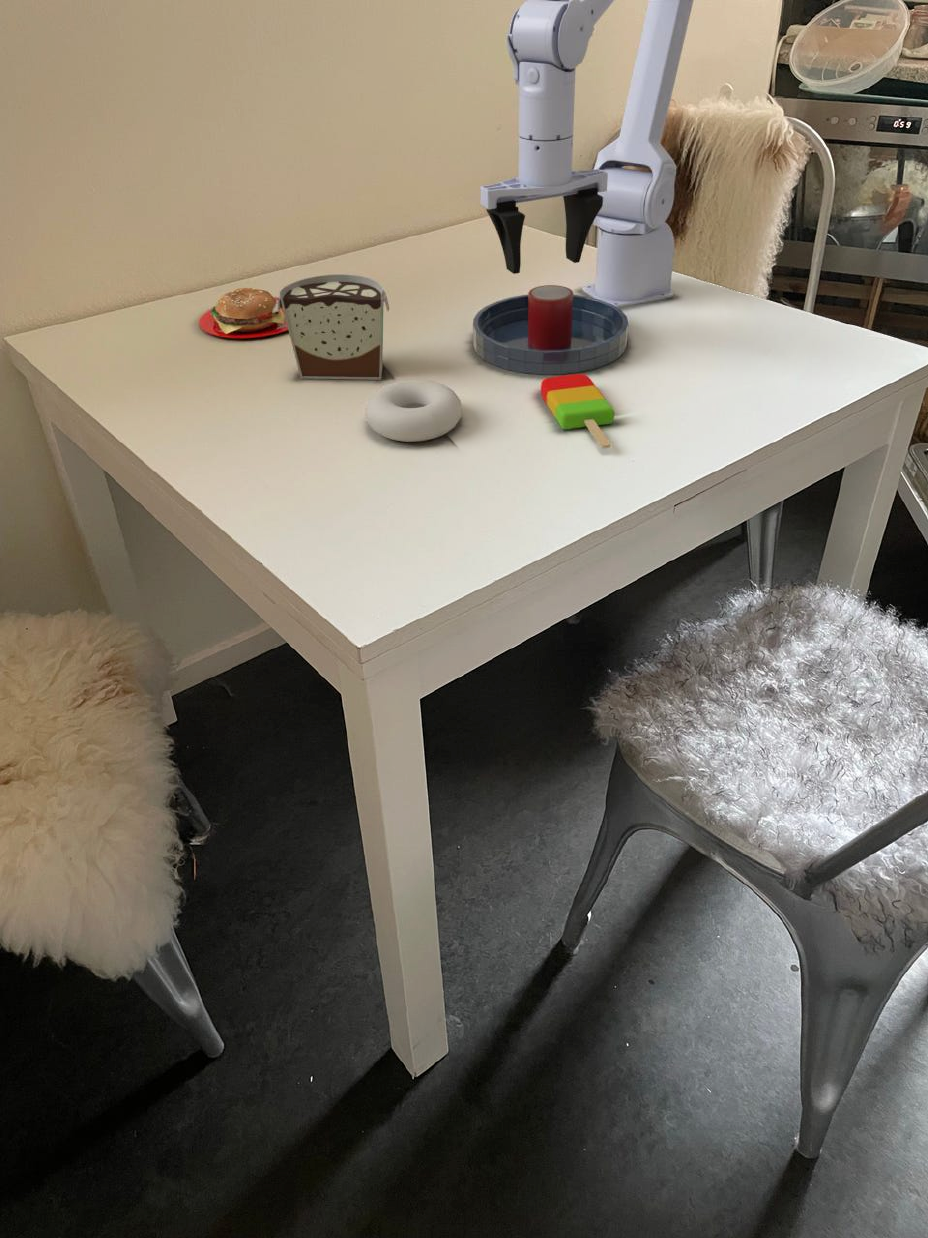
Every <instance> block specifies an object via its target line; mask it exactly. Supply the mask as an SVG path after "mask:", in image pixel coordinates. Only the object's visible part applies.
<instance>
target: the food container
mask: <svg viewBox="0 0 928 1238" xmlns="http://www.w3.org/2000/svg"><path fill="white" fill-rule="evenodd" d="M277 298H278V310H280V309H281V308H282V307H283V310H284V314H285V318H286V322H287V326H288V330H287V331H288V334H289V338H290V342H291V346H292V350H293V355H294V358H295V362H296V366H297V369H298V373H299V378H300V379H301V380H303V379H304V380H358V381H359V380H362V381H363V380H364V381H365V380H366V381H367V380H368V381H369V380H370V381H372V380H373V381H382V379H383V351H384V350H383V349H384V347H383V345H384V344H383V342H384V305H385V308H386V311H387V312H389V311H390V304H389V300H388V298H387V294H386V291H385V290H384V288H383V285H382V284H381V283H380V282H379V281H377V280H375V279H373V278H370V277H367V276H363V275H358V274H348V273H347V274H346V273H345V274H344V273H343V274H342V273H338V274H337V273H336V274H335V273H334V274H333V273H332V274H323V275H322V274H321V275H316V276H310V277H306V278H302V279H299V280H296V281H293V282H291V283H288V284H287V285H286V286H284V287H282V288H281V289H280V290H279V296H278V297H277Z"/></svg>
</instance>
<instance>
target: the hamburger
mask: <svg viewBox="0 0 928 1238" xmlns="http://www.w3.org/2000/svg"><path fill="white" fill-rule="evenodd" d="M198 320H199V321H198V325H199V327H200V328H201V330H203V331H204V332H205V333H207V334H210V335H212V336H216V337H220V338H229V339H251V338H261V337H267V336H271V335H277V334H280V333H283V332H287V331H289V330H288V326H287V322H286V318H285V314H284V310H283V307H282V308H281V309H280V310H278V297H277V296H276V297H275V296H273V295H272V294H271V293H270V292H269V291H268V290H266V289H258V288H253V287H246V286H245V287H240V288H234V289H231V291H228V292H226V293H224V294H223V295H221V296H220V297H219V298H218V299H217V303H216V304H215V306H213V307H212V308H210V309H209V310H207V311H206V312H205V313H203V315H202V314H201V316H200V318H199V319H198Z"/></svg>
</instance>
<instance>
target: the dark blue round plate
mask: <svg viewBox="0 0 928 1238" xmlns="http://www.w3.org/2000/svg"><path fill="white" fill-rule="evenodd" d="M628 331H629V320H628V316H627V315H626V314H625V313H624V311H623V310H622V309H621V308H620V307H619V308H617V307H616V306H614V305H612V304H610V303H607V302H605V301H602V300H599V299H595V298H593V297H592V296H587V295H581V294H575V293H573V314H572V339H571V345H570V346H569V347H567V348H565V349H562V350H538V349H534V348H532V347H530V346H529V345H528V294H522V295H516V296H511V297H507V298H503V299H501V300H497V301H495V302H492V303H490V304H488V305H486V306H484V307H483V308H482V309H480V310H479V311H477V313H476V314H475V316H474V317H473V319H472V341H473V344H472V345H473V349H474V351H475V353H476V354H477V355H478V356H479V358H481V359H482V360H484V361H485V362H487V363H489V364H491V365H492V366H495V367H498V368H501V369H504V370H506V371H507V370H508V371H511V372H512V371H513V372H517V373H522V374H530V375H541V376H546V375H547V376H548V375H571V374H579V373H582V372H587V371H592V370H596V369H599V368H601V367H604V366H607V365H609V364H611V363H612V362H614V361H615V360H617V359H619V358H620V357H621V356H622V355H623V354H624V353H625V351H626V348H627V345H628V334H629V332H628Z"/></svg>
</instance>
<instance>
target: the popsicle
mask: <svg viewBox="0 0 928 1238" xmlns="http://www.w3.org/2000/svg"><path fill="white" fill-rule="evenodd" d="M540 396H541V398H542V399H543V401H544V402H545V403H546V405H547V407H548V409H549V410H550V412H551V413H552V415H553V417H554V418H555V419H556V421H557V422H558V424H559V426H560V428H562V429H563V430H571V429H572V430H573V429H580V428H587V430H588V431H589V432H590V433H591V435H592V436H593V438H594V440H595V441H596V443H597V444H598V445H599V447H600V448H602V449H607V448H610V447H611V442H610V441H609V440H608V438H607V437H606V435H605V433H604V432H603V431H602V429H601V427H600V426H603V425H611V424H613V423H614V420H615V410H614V409H613V407H612V405H611V404H610V403H609V402H608V400H607V399H606V398H605V397H604V395H603V394H602V392H601V391H600V389H599V388H598V387H597V386H596V384H595V383H594V382H593V380H592V379H591V378H590V377H589V376H588V375H587V374H583V373H571V374H563V375H558V376H549V377H546V378H544V379H543V380H542V381H541V384H540Z"/></svg>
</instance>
